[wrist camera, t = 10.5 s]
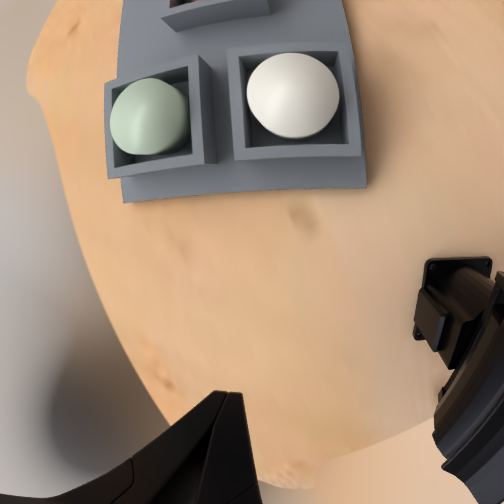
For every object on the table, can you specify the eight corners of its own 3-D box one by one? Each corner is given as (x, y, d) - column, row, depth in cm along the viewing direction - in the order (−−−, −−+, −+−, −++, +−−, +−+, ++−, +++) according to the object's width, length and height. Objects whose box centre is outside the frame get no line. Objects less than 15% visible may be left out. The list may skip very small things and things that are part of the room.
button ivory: (327, 71, 13) (333, 52, 11) (335, 140, 15) (343, 134, 12) (253, 74, 14) (243, 56, 11) (258, 143, 15) (250, 138, 13)
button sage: (195, 83, 15) (176, 69, 12) (199, 149, 16) (179, 147, 13) (135, 98, 16) (109, 90, 13) (138, 160, 17) (111, 160, 14)
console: (323, -49, 11) (324, -75, 7) (362, 187, 16) (377, 192, 13) (132, -14, 13) (111, -31, 10) (130, 201, 19) (102, 209, 16)
